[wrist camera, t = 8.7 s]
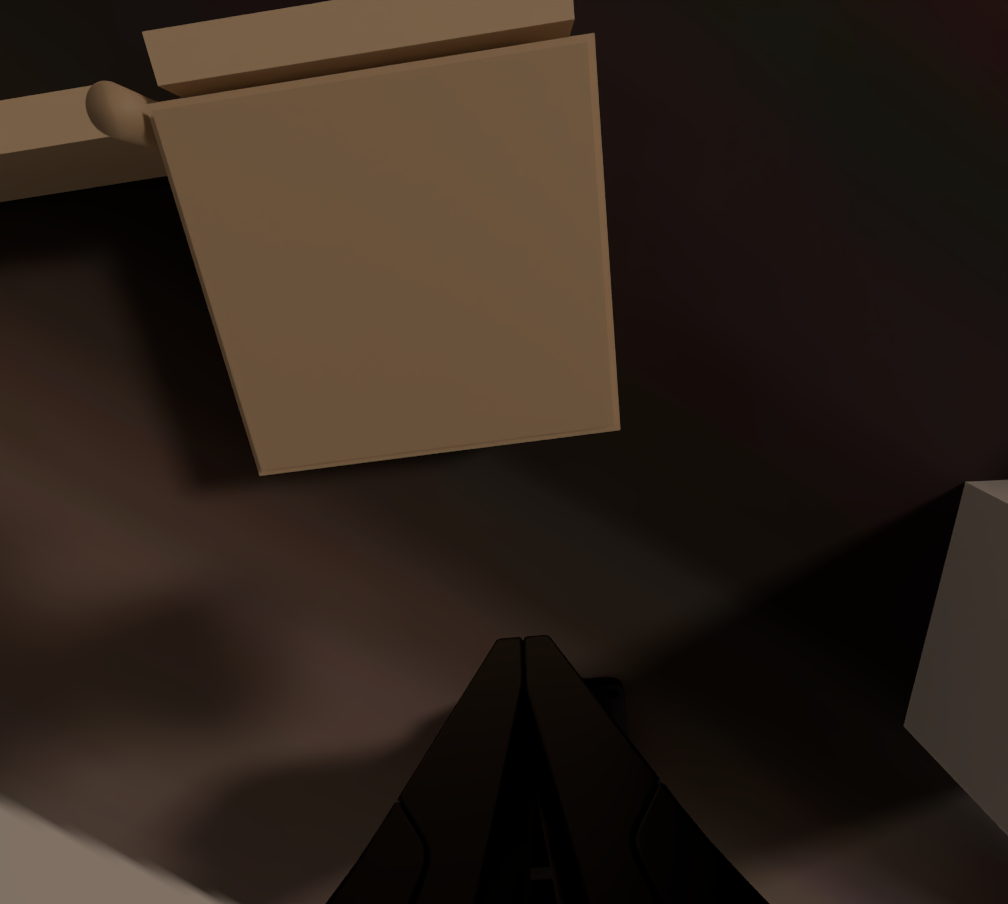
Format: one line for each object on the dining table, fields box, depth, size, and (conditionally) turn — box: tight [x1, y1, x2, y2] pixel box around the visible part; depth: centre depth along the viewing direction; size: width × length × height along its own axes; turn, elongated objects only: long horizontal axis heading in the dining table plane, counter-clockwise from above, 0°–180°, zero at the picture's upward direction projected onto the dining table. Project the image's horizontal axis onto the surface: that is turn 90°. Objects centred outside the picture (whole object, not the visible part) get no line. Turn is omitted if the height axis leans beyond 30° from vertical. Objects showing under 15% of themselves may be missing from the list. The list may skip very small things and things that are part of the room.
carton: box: [142, 0, 620, 476], centre depth 16 cm, size 10×10×5 cm
